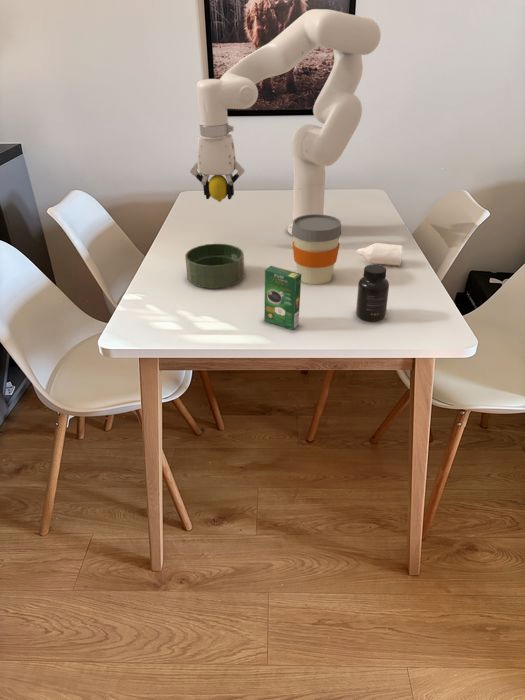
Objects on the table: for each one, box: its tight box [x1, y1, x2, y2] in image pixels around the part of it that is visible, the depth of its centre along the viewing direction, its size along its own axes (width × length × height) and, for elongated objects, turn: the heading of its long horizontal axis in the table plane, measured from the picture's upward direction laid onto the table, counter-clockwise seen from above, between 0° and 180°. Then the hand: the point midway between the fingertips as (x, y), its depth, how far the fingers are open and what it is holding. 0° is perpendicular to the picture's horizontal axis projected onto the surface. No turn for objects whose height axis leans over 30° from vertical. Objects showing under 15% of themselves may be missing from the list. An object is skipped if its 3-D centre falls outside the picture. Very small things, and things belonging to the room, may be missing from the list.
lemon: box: [208, 175, 228, 203], centre depth 157 cm, size 6×6×8 cm
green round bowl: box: [184, 243, 245, 289], centre depth 147 cm, size 15×15×6 cm
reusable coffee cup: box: [291, 214, 342, 285], centre depth 144 cm, size 12×13×15 cm
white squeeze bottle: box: [356, 242, 403, 267], centre depth 154 cm, size 6×12×6 cm, turn 78°
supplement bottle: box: [355, 263, 390, 323], centre depth 126 cm, size 7×7×12 cm
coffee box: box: [263, 265, 302, 331], centre depth 123 cm, size 8×3×13 cm, turn 57°
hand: (219, 197), depth 159 cm, fingers closed on lemon, 5 cm apart
